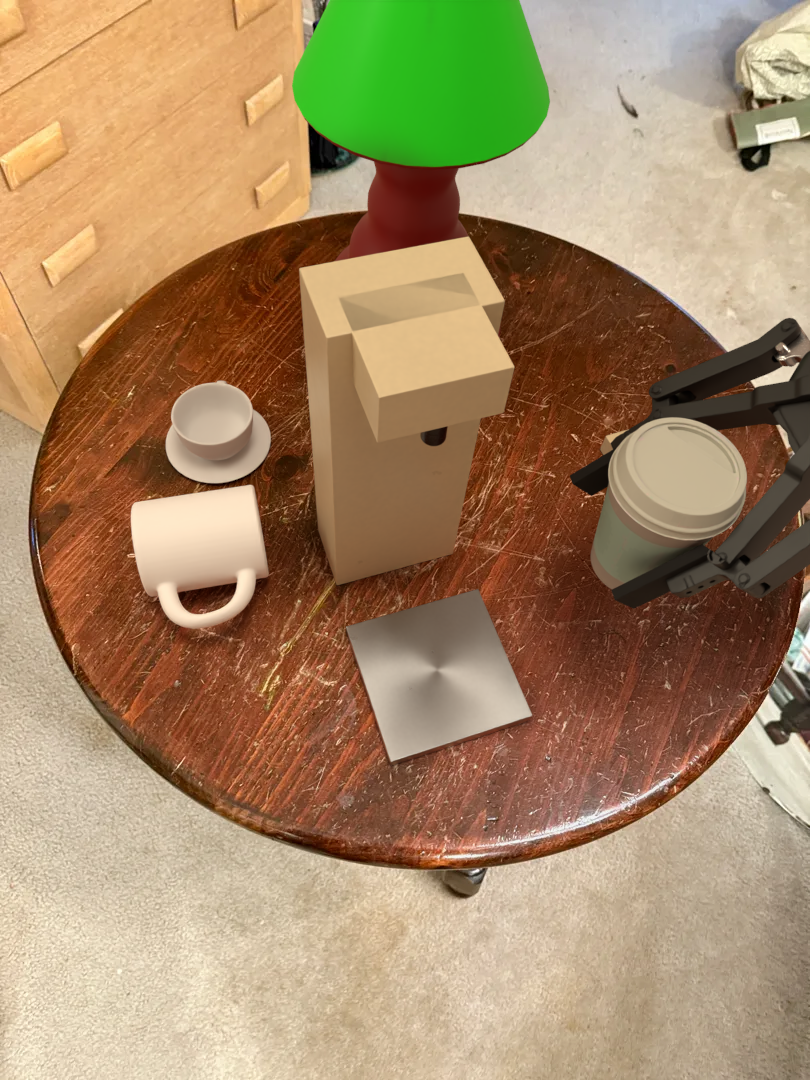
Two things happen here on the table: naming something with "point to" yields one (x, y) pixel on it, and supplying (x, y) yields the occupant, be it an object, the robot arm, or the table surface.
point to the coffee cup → (666, 497)
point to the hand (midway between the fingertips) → (601, 540)
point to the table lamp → (420, 104)
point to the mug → (199, 549)
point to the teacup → (216, 434)
